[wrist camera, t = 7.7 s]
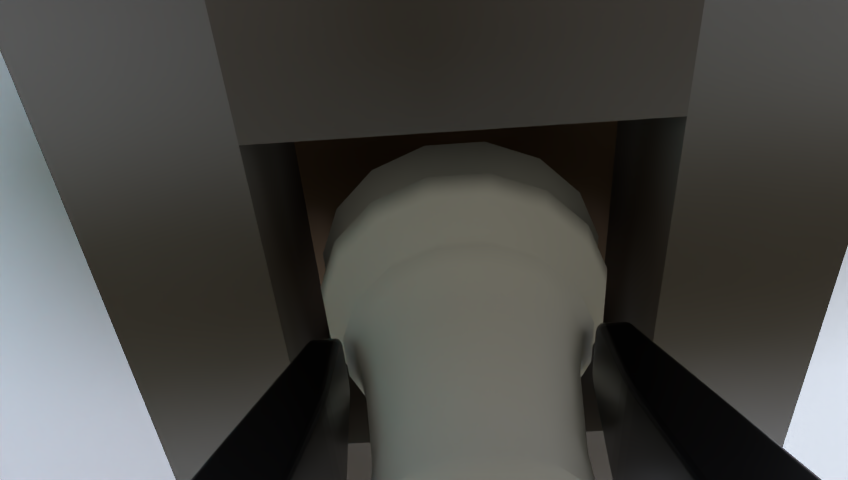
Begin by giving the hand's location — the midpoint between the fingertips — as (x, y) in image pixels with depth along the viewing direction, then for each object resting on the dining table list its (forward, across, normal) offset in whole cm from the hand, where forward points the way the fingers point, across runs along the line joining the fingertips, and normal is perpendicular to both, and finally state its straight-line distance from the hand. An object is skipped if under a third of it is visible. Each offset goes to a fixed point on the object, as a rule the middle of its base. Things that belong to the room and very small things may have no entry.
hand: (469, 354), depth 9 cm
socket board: (+5, 0, 0) cm, 5 cm away
